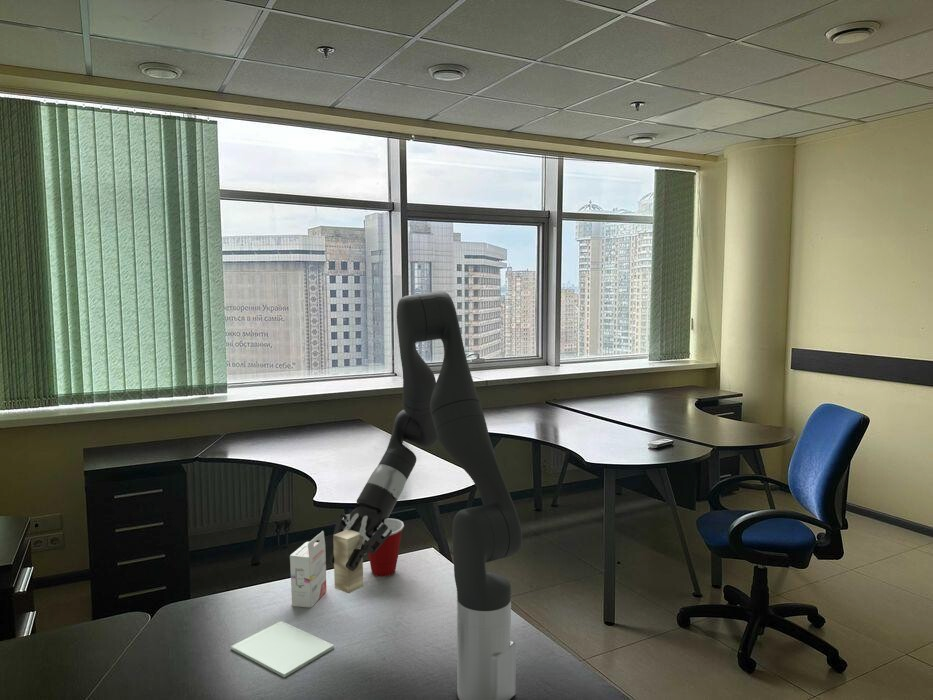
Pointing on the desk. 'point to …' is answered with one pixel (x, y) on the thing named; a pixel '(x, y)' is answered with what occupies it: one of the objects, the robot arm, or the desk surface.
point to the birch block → (342, 552)
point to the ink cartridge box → (308, 572)
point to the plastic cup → (387, 550)
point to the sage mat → (282, 648)
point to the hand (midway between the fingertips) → (341, 566)
